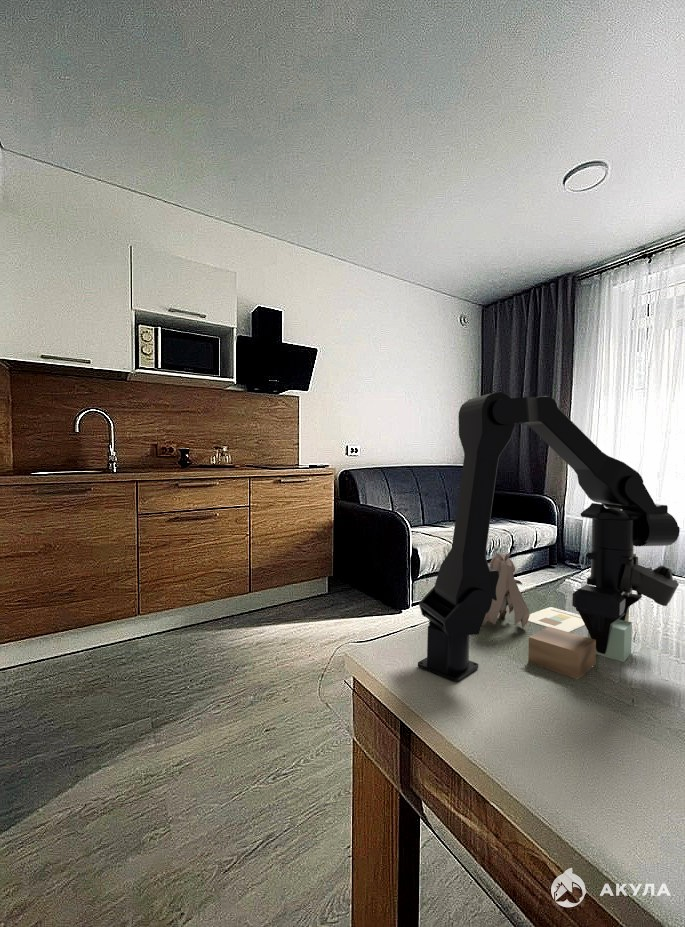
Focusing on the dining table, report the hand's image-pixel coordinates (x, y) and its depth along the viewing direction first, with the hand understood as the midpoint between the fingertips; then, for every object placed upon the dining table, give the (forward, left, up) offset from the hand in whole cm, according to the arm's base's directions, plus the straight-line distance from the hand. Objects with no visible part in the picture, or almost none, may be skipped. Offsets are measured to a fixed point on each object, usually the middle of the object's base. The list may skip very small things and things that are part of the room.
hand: (609, 644), depth 71 cm
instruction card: (+10, +11, -1) cm, 15 cm away
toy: (-1, +18, -2) cm, 18 cm away
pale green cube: (0, 0, -1) cm, 1 cm away
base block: (-10, +4, -2) cm, 11 cm away
